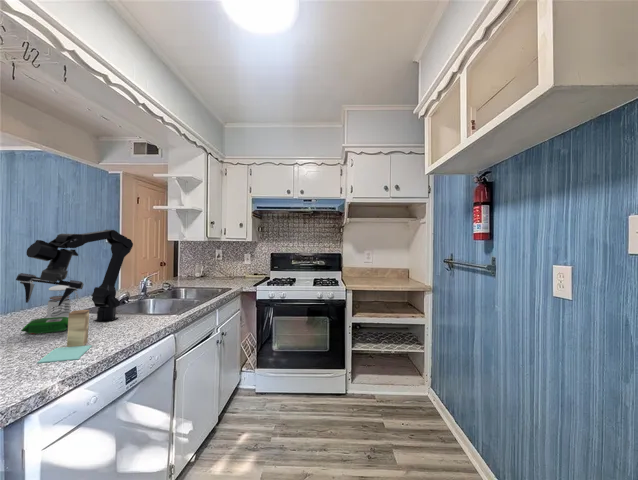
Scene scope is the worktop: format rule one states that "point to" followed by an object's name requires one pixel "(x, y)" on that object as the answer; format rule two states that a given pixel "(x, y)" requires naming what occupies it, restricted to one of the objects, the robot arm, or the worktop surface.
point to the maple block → (78, 328)
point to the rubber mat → (65, 354)
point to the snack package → (46, 325)
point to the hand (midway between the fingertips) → (43, 304)
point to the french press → (55, 304)
